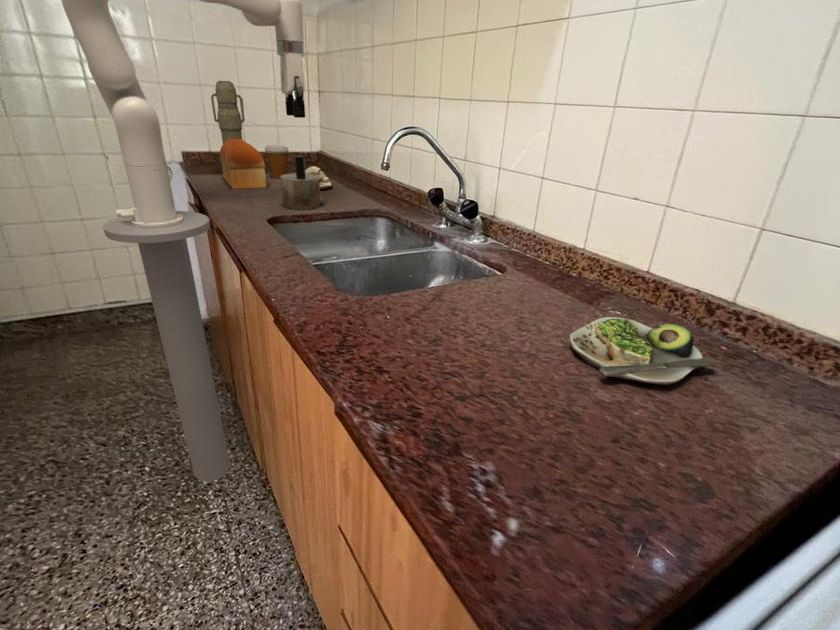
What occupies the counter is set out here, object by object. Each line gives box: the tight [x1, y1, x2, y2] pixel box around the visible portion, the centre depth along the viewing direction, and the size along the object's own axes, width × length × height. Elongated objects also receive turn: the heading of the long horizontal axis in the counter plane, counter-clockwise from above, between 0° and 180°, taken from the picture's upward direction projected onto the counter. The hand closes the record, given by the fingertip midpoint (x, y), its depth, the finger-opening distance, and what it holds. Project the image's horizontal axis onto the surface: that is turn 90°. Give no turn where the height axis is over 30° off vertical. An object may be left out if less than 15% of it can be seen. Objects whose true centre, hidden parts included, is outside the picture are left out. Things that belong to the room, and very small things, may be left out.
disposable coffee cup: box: [264, 144, 290, 179], centre depth 186 cm, size 10×10×12 cm
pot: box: [280, 178, 321, 210], centre depth 143 cm, size 11×11×8 cm
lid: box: [279, 155, 321, 182], centre depth 140 cm, size 12×12×7 cm
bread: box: [219, 138, 267, 190], centre depth 172 cm, size 25×12×15 cm, turn 29°
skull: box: [305, 165, 333, 190], centre depth 171 cm, size 12×10×10 cm
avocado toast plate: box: [569, 316, 717, 386], centre depth 66 cm, size 19×18×5 cm
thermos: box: [210, 80, 246, 145], centre depth 185 cm, size 9×12×35 cm
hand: (295, 116), depth 133 cm, fingers open, 9 cm apart
